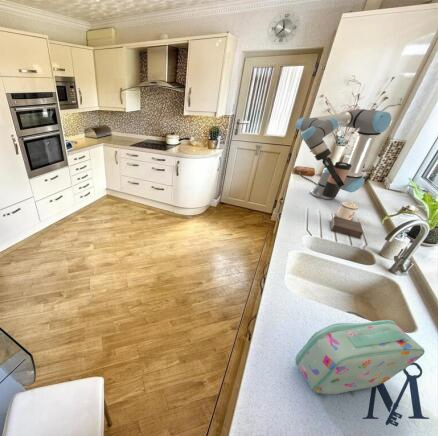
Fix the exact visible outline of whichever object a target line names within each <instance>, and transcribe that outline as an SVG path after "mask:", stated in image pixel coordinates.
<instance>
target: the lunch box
mask: <svg viewBox="0 0 438 436" xmlns="http://www.w3.org/2000/svg"><path fill="white" fill-rule="evenodd" d="M425 351H426V350H425V348H424V347H423V346H422V345H420V344H419V343H418V342H417V341H415V339H413V338H412V337H411V336H410V335H409V334H407V333H406V332H405V330H403V329H402V328H401V327H400V326H399V325H398V324H397V322H395V321H394V320H390V319H380V320H374V321H369V322H340V323H333V324H330V325H327V326H325V327H324V328H322V329H320V330H318V331H316V332H315V333H313V335H312V336H310V338H309V339H308V341H307V342H306V343H305V345H303V347H302V348H301V349H300V350H299V352H297V354H296V356H295V359H294V360H295V365H296V366H297V367H298V369H299V371H300V372H301V374H302V375H303V377H304V379H305V380H306V382H307V384H308V386H309V387H310V389H311V391H312V392H313V393H316V394H322V395H329V396H331V395H337V394H343V393H348V392H352V391H354V392H355V391H359V390H364V389H365V390H366V389H371V388H375V387H377V386H379V385H381V384H383V383H386V382H387V381H389V380H391V379H392V378H393V377H396V375H397V374H399V373H401V372H403V371H404V370H405V369H407V368H408V367H410V366H411V365H413V364H414V363H415V362H416V361H418V360H419V359H420V358H422V356H424V354H425Z"/></svg>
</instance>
